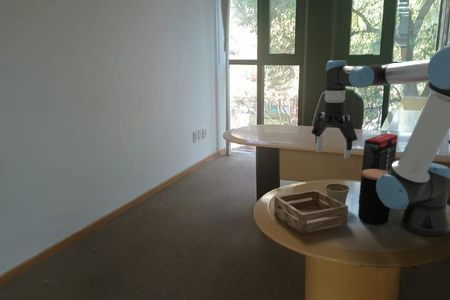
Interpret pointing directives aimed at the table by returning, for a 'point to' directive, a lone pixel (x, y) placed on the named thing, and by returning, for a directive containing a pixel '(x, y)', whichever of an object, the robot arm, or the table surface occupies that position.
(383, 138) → the graphics card box
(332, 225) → the crate
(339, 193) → the flower pot
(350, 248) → the table surface
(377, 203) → the coffee jar
